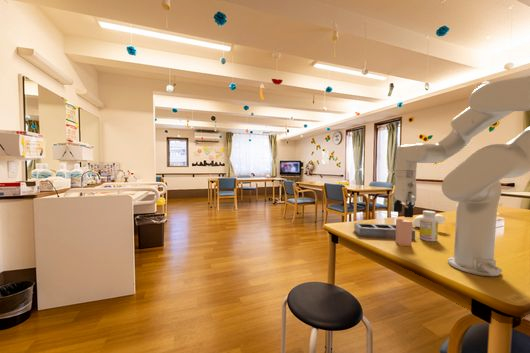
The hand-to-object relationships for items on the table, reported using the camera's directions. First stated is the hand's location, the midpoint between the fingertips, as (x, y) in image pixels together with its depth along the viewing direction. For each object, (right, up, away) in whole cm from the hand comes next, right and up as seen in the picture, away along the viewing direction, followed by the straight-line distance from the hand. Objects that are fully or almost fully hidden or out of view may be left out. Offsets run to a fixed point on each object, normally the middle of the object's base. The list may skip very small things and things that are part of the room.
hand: (402, 214), depth 96 cm
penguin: (+28, -12, +23) cm, 38 cm away
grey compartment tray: (-2, -12, +12) cm, 17 cm away
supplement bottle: (+15, -13, +6) cm, 21 cm away
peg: (0, -13, 0) cm, 13 cm away
